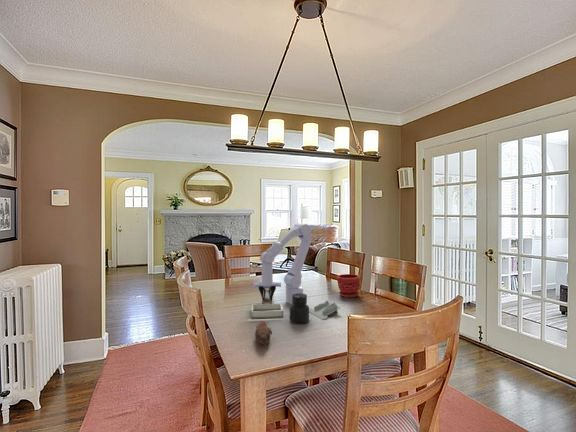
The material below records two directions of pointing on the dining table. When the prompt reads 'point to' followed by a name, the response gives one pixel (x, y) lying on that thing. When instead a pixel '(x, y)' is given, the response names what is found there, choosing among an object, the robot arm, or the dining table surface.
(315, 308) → the metal bracket
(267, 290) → the silver rounded piece
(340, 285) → the plant pot
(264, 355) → the dining table surface
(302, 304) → the ink bottle
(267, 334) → the bird sculpture
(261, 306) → the tray
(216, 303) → the dining table surface
